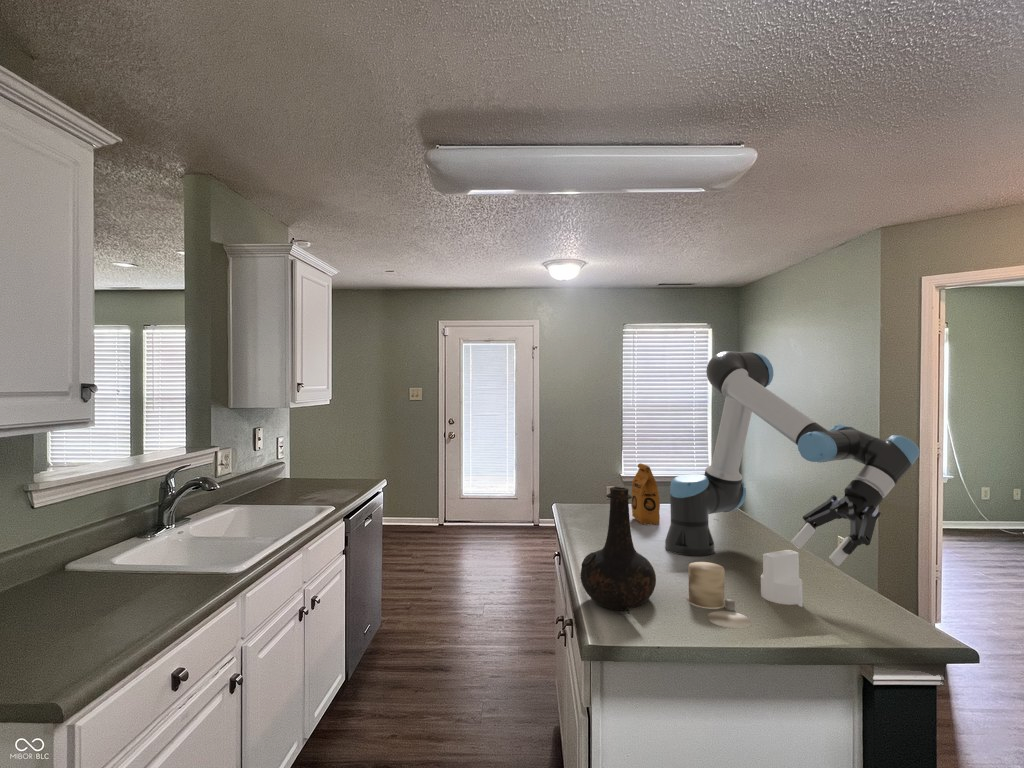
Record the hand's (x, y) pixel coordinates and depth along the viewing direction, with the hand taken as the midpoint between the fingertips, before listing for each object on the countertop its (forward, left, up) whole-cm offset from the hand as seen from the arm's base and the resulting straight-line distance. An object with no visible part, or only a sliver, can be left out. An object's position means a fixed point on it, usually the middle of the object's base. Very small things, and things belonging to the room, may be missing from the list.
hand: (813, 553), depth 132 cm
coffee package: (-84, -10, -12) cm, 85 cm away
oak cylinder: (-1, -27, -10) cm, 29 cm away
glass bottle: (-6, -47, -12) cm, 49 cm away
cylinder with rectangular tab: (-1, -8, -12) cm, 14 cm away
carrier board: (+4, -24, -12) cm, 27 cm away
